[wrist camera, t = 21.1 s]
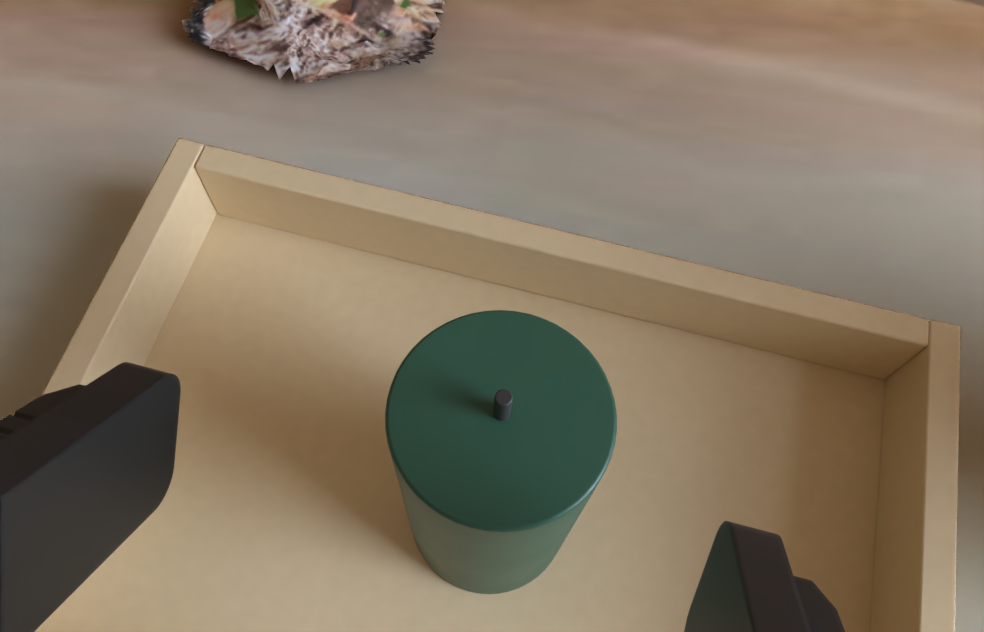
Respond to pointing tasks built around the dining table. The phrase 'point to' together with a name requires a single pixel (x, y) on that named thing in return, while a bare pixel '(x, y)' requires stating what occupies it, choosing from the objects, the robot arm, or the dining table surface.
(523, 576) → the green candle
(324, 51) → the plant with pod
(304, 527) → the wooden tray
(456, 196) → the dining table surface
